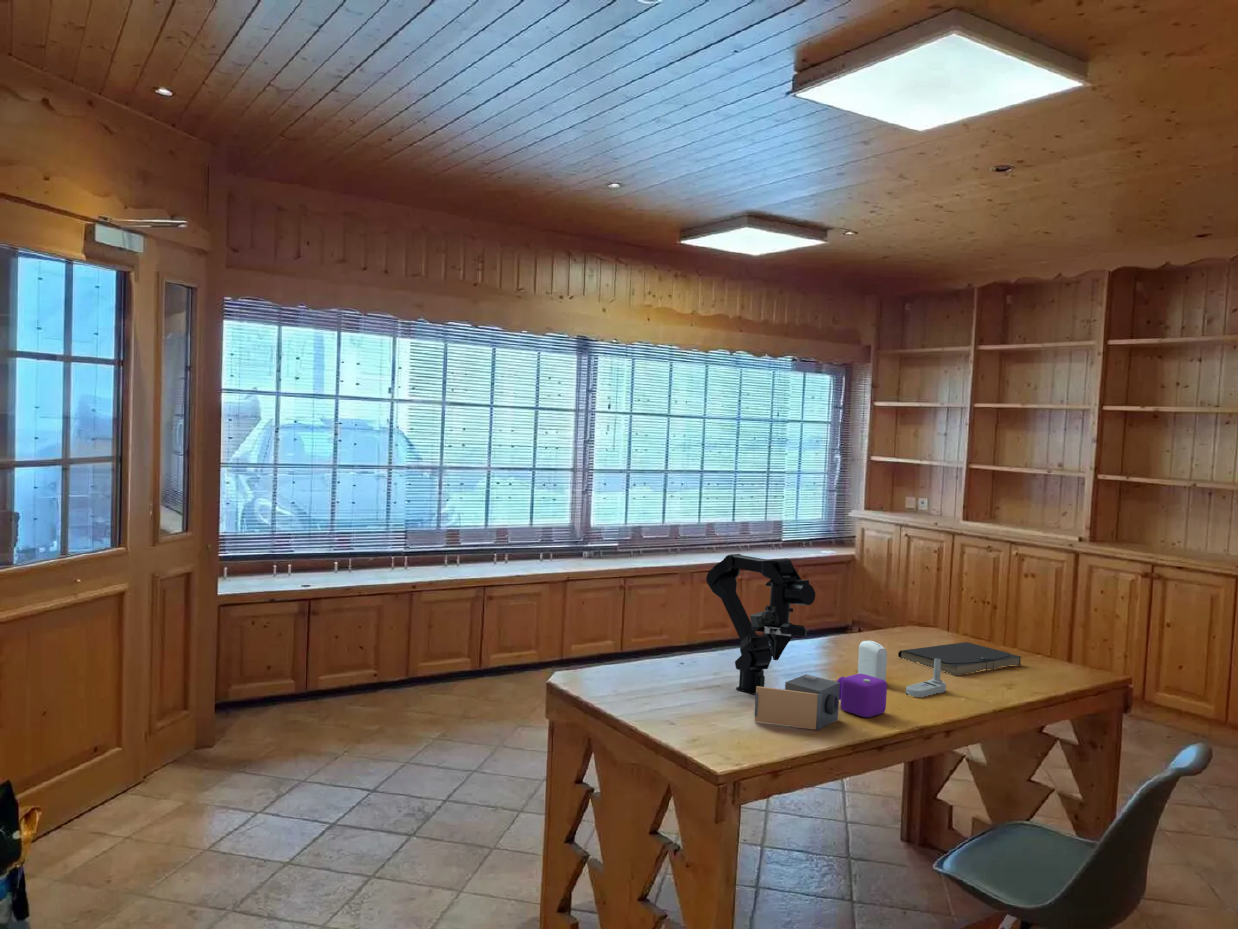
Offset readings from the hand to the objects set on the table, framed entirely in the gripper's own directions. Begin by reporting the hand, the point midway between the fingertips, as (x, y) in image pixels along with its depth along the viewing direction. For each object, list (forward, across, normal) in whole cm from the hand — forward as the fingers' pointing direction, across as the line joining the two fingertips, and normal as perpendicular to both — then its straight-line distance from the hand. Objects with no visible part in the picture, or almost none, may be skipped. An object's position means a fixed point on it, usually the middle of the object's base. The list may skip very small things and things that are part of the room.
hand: (775, 660), depth 240 cm
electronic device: (+5, +2, +53) cm, 53 cm away
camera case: (+14, +12, +4) cm, 19 cm away
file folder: (-5, -22, +90) cm, 93 cm away
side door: (+16, +14, -5) cm, 22 cm away
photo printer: (+4, -12, +44) cm, 46 cm away
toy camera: (+11, +9, +22) cm, 26 cm away
